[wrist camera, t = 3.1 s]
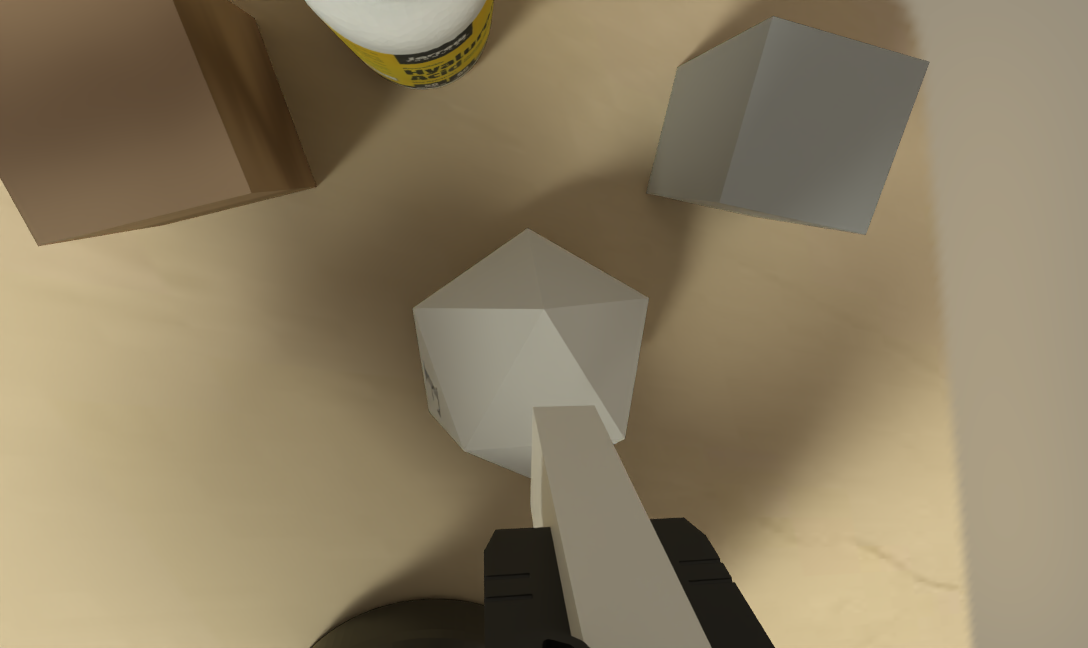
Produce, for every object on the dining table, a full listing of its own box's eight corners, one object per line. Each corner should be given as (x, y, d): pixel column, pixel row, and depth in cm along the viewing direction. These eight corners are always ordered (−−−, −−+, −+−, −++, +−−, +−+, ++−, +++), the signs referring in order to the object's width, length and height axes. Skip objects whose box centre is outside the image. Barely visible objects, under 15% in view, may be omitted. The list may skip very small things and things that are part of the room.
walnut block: (317, 186, 20) (251, 193, 14) (166, 224, 20) (38, 246, 14) (255, 18, 18) (151, -51, 12) (88, 58, 18) (-96, 5, 12)
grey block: (751, 216, 22) (865, 234, 16) (645, 193, 22) (719, 202, 15) (788, 96, 21) (929, 61, 14) (677, 67, 20) (773, 15, 14)
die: (492, 187, 21) (324, 304, 14) (696, 232, 19) (612, 404, 12) (497, 337, 26) (374, 478, 19) (659, 390, 24) (584, 577, 17)
